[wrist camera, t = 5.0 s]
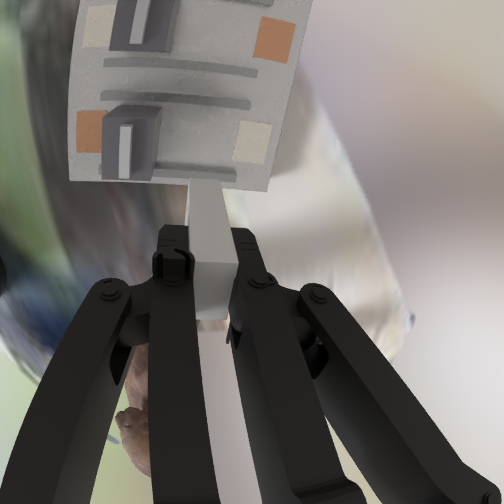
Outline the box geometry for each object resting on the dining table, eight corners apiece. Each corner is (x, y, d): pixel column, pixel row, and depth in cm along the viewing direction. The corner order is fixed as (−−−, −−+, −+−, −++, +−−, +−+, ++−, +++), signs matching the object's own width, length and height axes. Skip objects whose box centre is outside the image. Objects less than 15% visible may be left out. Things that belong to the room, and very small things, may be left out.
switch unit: (78, 169, 28) (66, 185, 24) (95, -15, 16) (81, -23, 13) (260, 180, 33) (268, 196, 30) (301, 4, 21) (316, -2, 18)
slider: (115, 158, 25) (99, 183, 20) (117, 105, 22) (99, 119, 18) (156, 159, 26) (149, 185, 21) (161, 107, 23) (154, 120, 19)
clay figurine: (143, 236, 34) (122, 457, 15) (217, 262, 39) (254, 464, 19) (117, 306, 40) (102, 480, 21) (180, 323, 44) (193, 489, 25)
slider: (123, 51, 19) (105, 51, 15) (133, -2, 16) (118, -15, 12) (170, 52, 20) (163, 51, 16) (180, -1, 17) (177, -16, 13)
